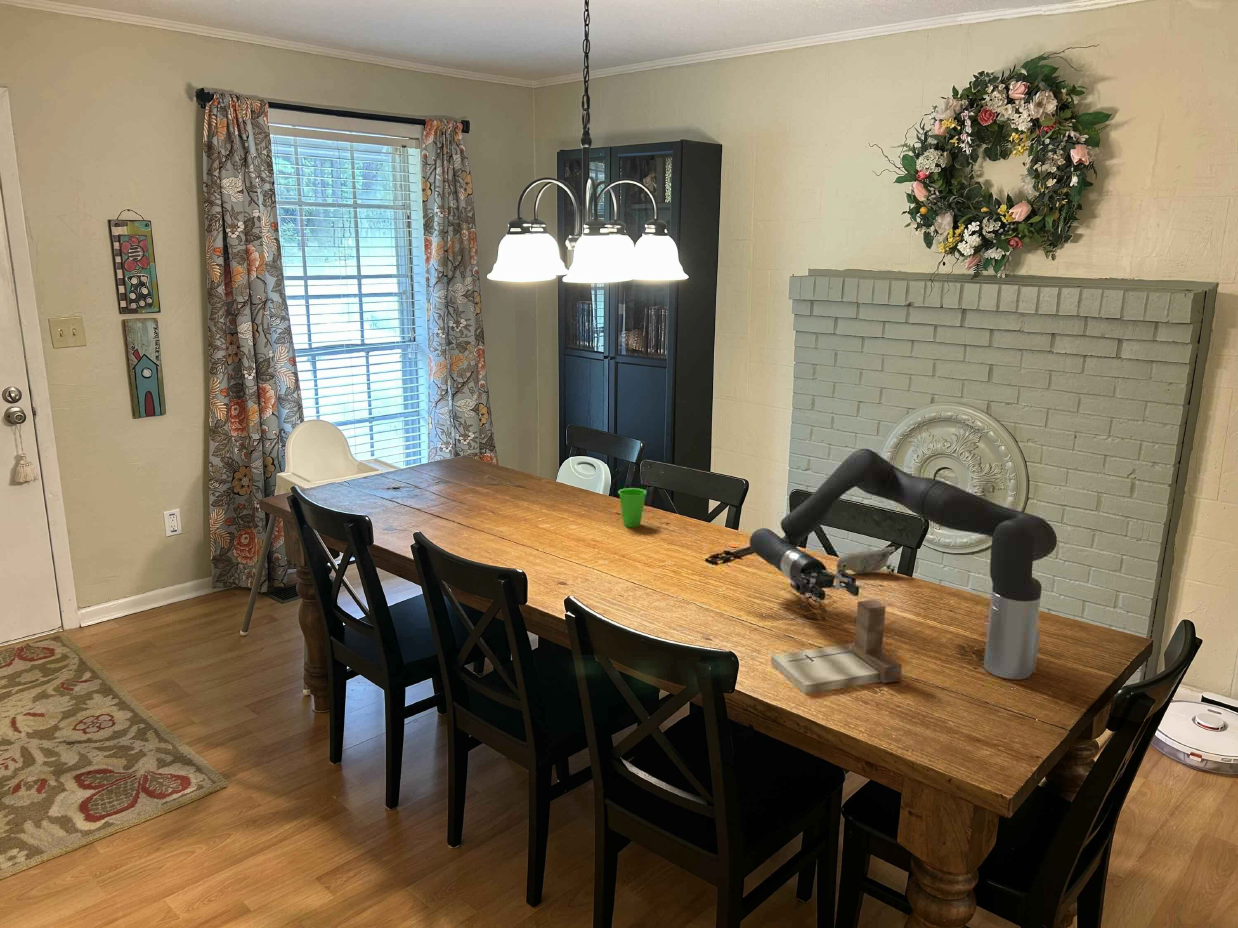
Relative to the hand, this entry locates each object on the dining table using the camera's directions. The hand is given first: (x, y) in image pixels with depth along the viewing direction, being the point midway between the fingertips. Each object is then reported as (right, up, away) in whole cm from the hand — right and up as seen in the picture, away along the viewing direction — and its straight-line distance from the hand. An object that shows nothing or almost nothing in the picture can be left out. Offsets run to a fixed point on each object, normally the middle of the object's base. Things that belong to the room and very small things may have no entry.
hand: (840, 593), depth 200 cm
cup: (-45, +9, +88) cm, 99 cm away
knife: (-14, +2, +63) cm, 64 cm away
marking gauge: (+5, -14, -10) cm, 18 cm away
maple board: (-4, -15, -10) cm, 18 cm away
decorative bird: (+18, -2, +48) cm, 51 cm away
